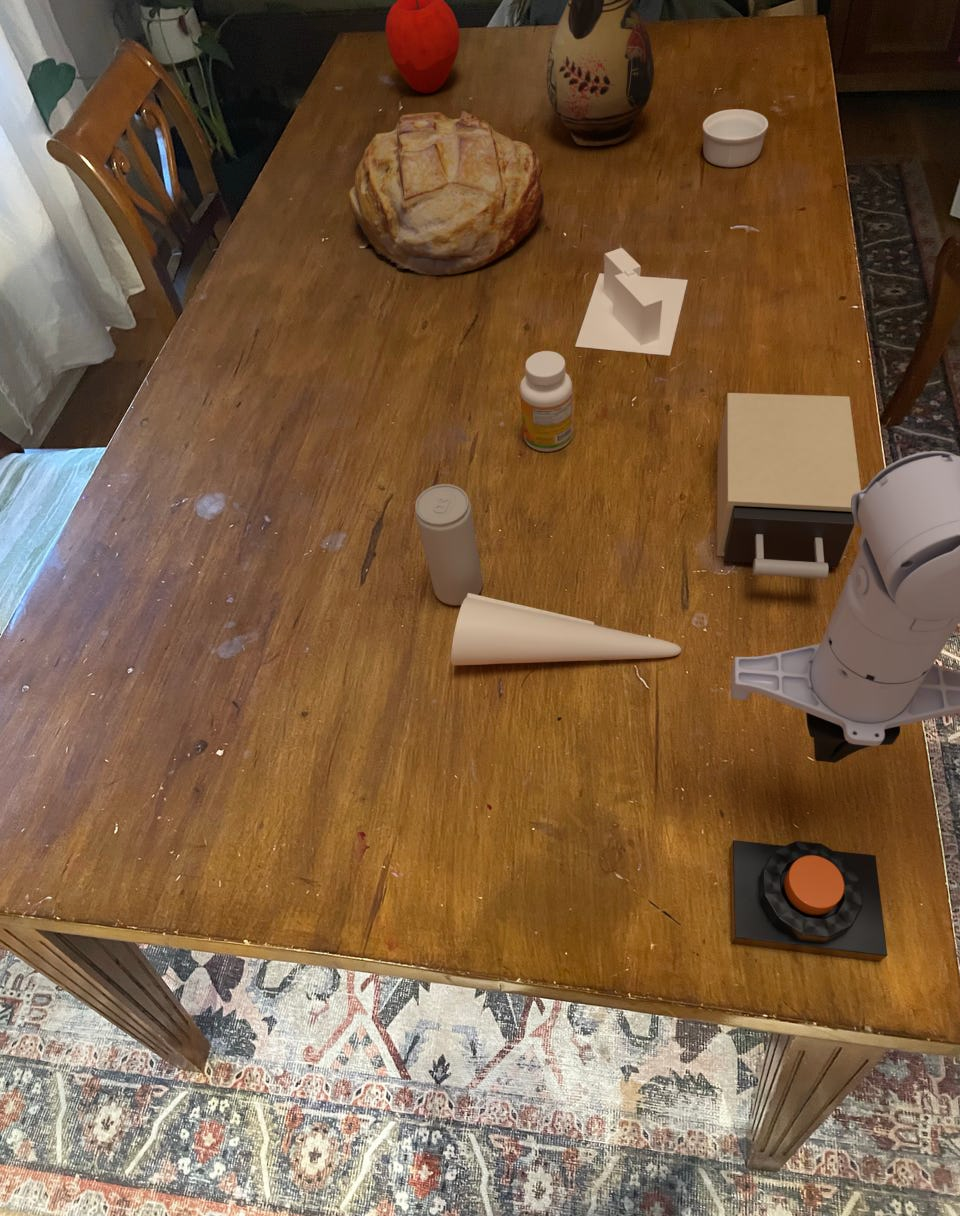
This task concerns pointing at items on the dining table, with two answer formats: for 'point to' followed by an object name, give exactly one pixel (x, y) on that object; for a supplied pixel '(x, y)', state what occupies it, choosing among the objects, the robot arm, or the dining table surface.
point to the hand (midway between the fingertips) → (824, 748)
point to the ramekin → (733, 137)
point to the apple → (422, 42)
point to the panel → (781, 925)
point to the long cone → (541, 636)
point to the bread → (445, 193)
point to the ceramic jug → (600, 70)
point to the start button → (814, 885)
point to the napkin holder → (631, 309)
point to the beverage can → (449, 542)
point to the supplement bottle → (546, 402)
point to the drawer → (788, 540)
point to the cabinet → (785, 455)
